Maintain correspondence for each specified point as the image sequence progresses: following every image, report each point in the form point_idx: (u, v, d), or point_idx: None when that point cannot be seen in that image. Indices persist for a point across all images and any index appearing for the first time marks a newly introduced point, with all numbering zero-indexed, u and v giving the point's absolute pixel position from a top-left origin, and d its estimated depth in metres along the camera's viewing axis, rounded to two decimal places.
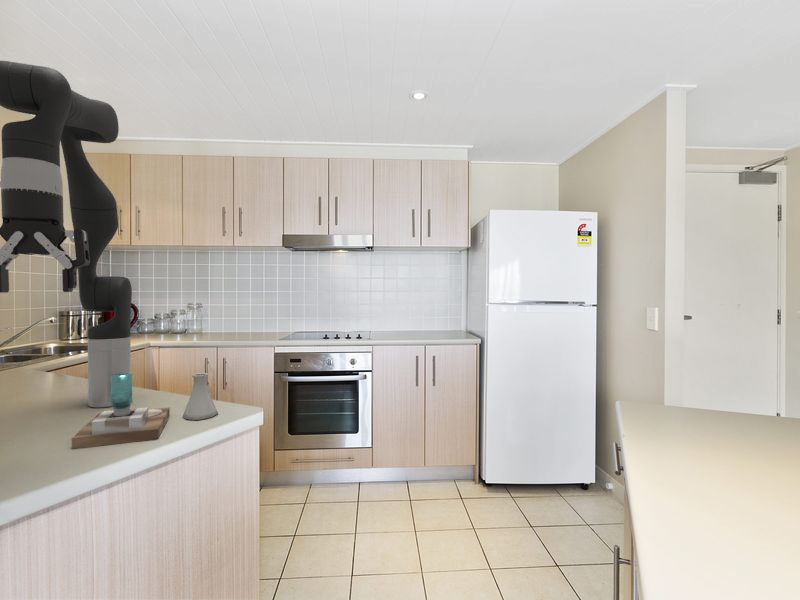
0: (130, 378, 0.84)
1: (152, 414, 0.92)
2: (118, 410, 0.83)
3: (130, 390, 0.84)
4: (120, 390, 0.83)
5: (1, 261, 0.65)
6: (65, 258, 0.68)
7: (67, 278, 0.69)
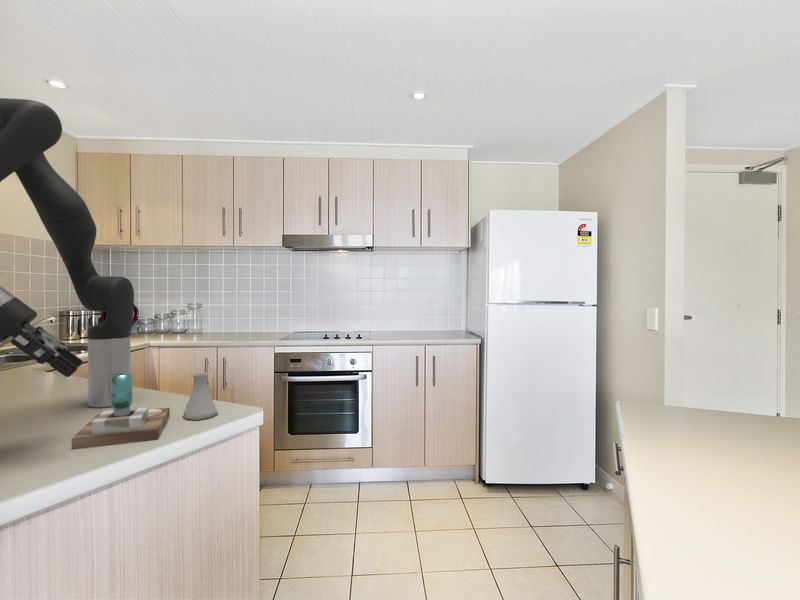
0: (130, 378, 0.84)
1: (152, 414, 0.92)
2: (118, 410, 0.83)
3: (130, 390, 0.84)
4: (119, 390, 0.83)
5: None
6: None
7: (57, 369, 0.75)
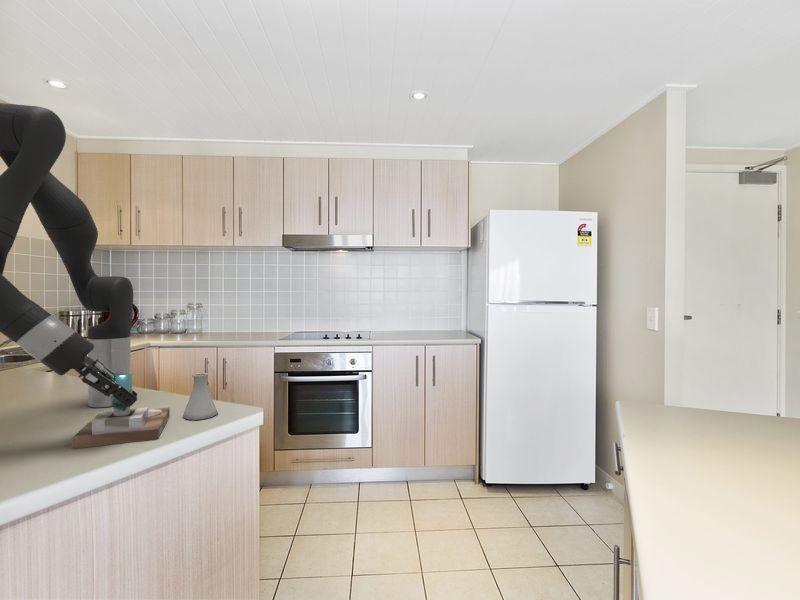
0: (130, 378, 0.84)
1: (152, 414, 0.92)
2: (118, 410, 0.83)
3: (130, 390, 0.84)
4: None
5: (107, 387, 0.85)
6: None
7: (120, 400, 0.82)
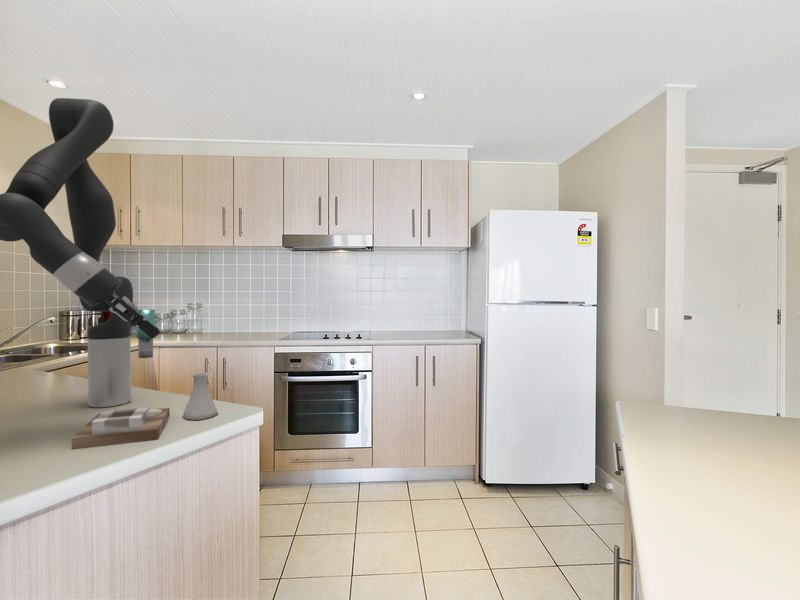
0: (153, 313, 0.93)
1: (152, 414, 0.92)
2: (143, 341, 0.91)
3: (153, 324, 0.93)
4: None
5: None
6: None
7: (144, 332, 0.91)
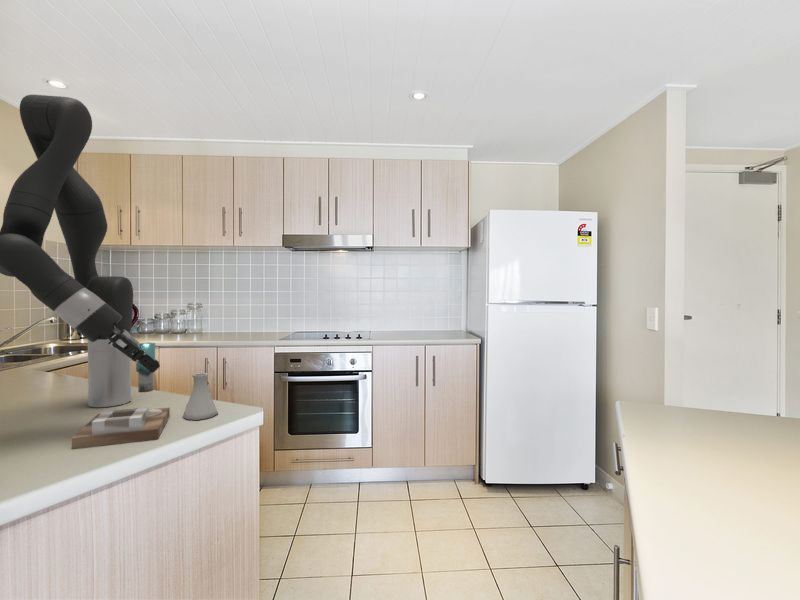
0: (153, 347, 0.93)
1: (152, 414, 0.92)
2: (143, 375, 0.91)
3: (153, 358, 0.93)
4: None
5: (132, 355, 0.93)
6: None
7: (144, 366, 0.91)
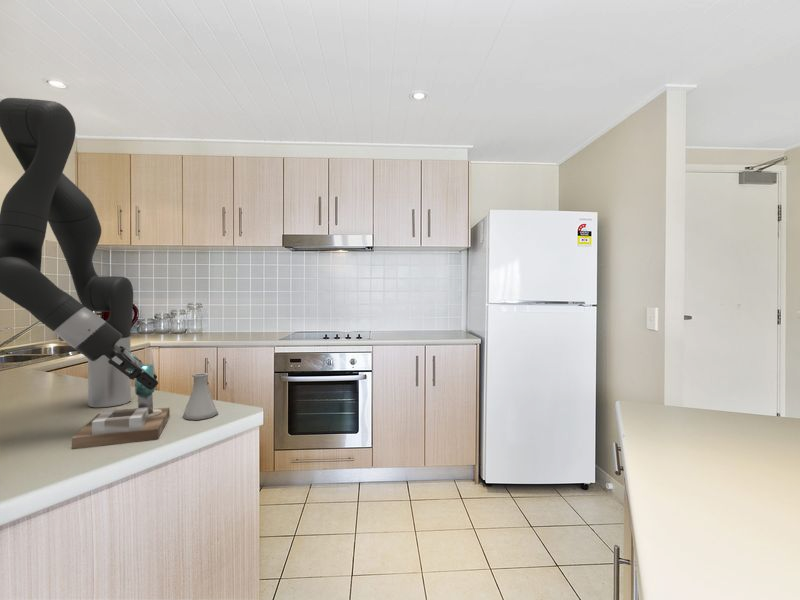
0: (151, 369, 0.93)
1: (152, 414, 0.92)
2: (142, 398, 0.91)
3: None
4: None
5: None
6: None
7: (142, 383, 0.89)
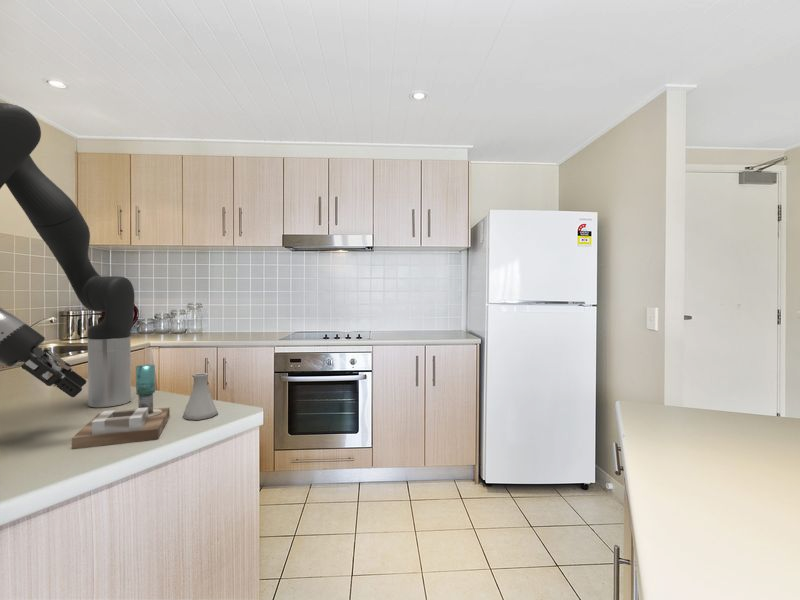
0: (153, 369, 0.93)
1: (152, 414, 0.92)
2: (143, 398, 0.91)
3: (153, 380, 0.93)
4: (144, 380, 0.91)
5: None
6: None
7: (63, 390, 0.82)
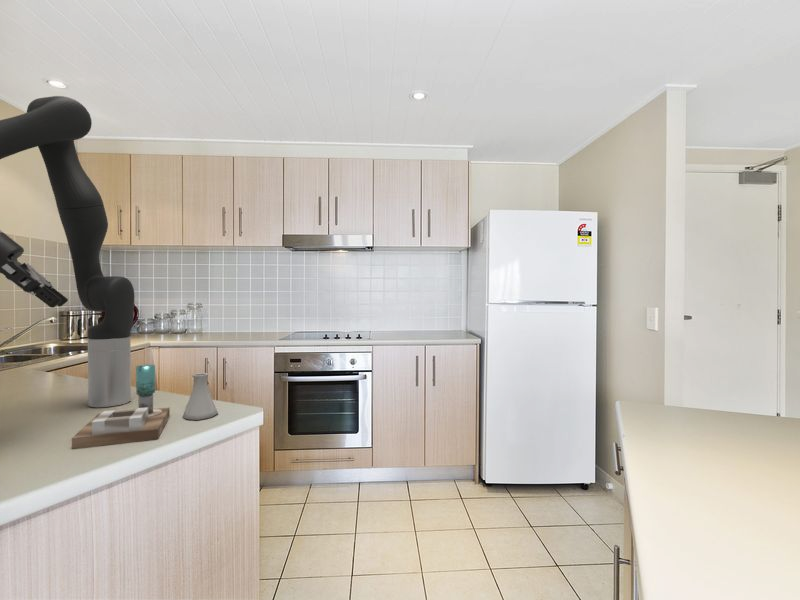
0: (153, 369, 0.93)
1: (152, 414, 0.92)
2: (143, 398, 0.91)
3: (153, 380, 0.93)
4: (144, 380, 0.91)
5: None
6: None
7: (42, 300, 0.80)
